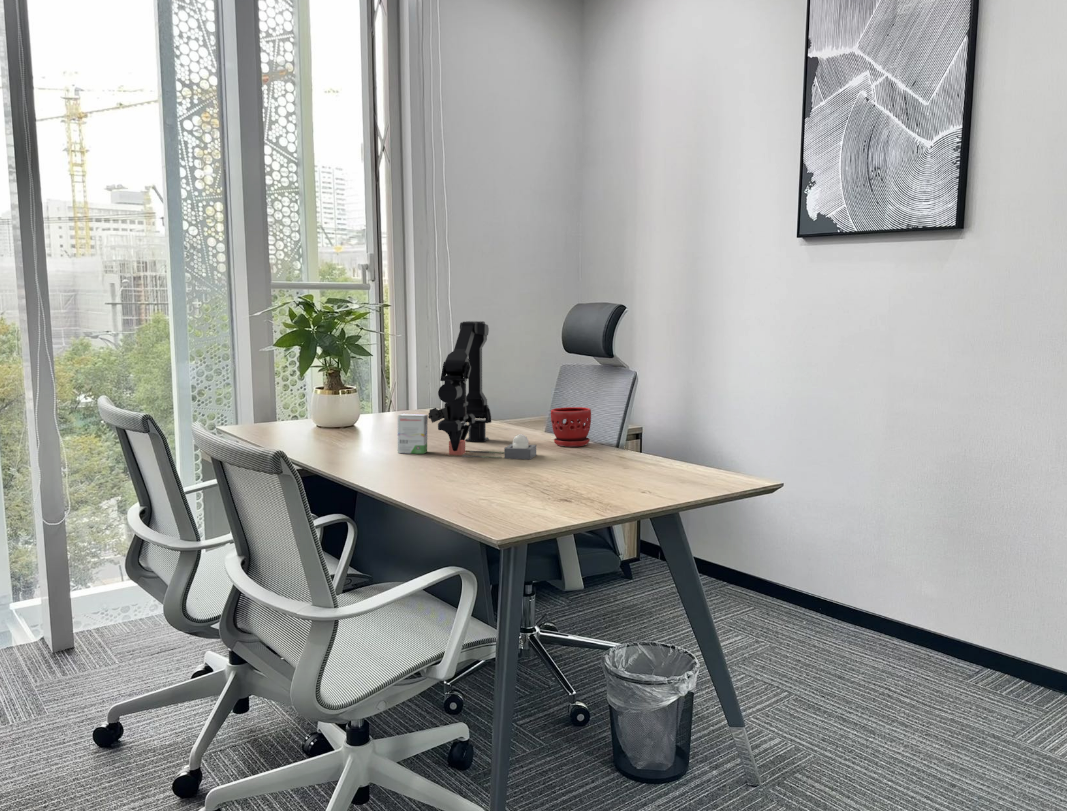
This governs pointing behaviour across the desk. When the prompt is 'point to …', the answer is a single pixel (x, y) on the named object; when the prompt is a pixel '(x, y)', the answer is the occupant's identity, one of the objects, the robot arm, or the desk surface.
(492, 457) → the track
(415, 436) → the ink box
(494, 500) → the desk surface
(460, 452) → the die
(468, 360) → the robot arm
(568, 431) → the plant pot
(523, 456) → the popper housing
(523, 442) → the dome
